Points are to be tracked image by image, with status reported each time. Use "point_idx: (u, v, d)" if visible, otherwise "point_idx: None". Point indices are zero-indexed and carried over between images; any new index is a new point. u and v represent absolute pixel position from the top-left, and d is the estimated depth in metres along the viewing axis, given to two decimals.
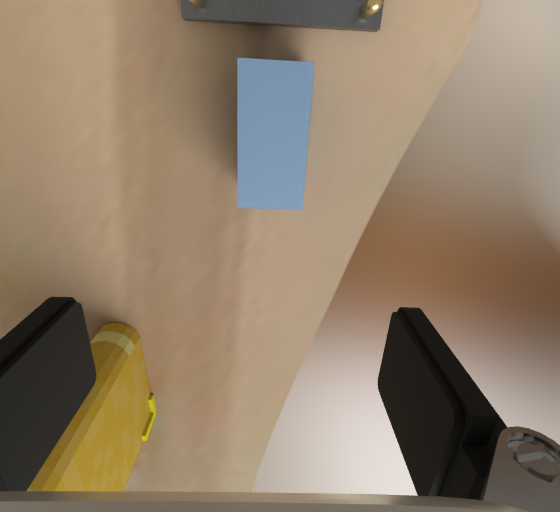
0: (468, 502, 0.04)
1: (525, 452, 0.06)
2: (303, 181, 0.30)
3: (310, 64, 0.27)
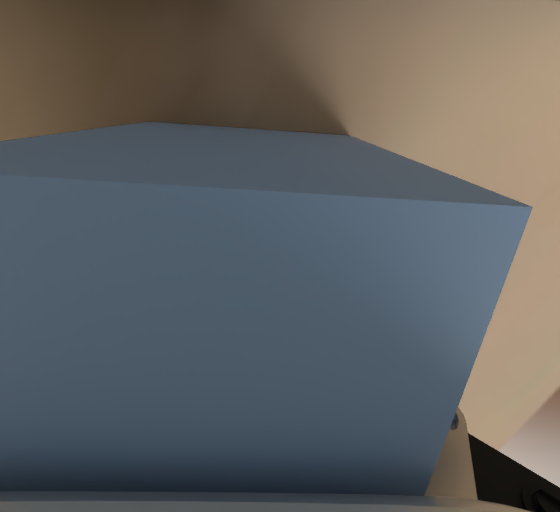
0: (468, 502, 0.04)
1: None
2: None
3: (494, 223, 0.03)
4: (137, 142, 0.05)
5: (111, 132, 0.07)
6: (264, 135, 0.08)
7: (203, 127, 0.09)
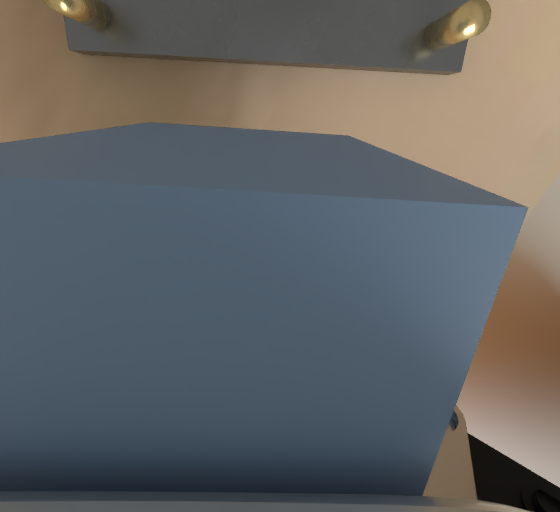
0: (468, 502, 0.04)
1: None
2: None
3: (491, 223, 0.03)
4: (137, 143, 0.05)
5: (111, 133, 0.07)
6: (264, 136, 0.08)
7: (203, 128, 0.09)
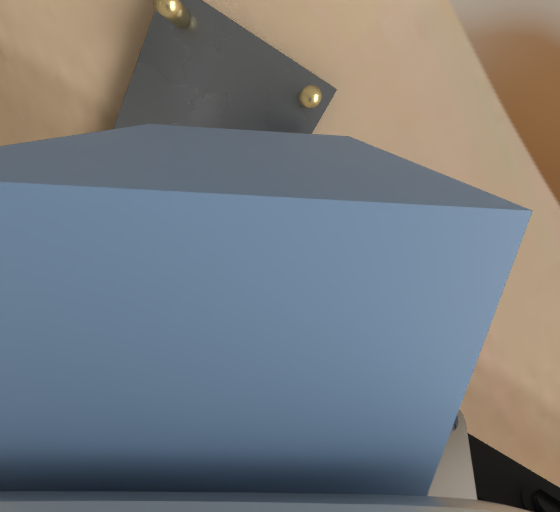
0: (468, 502, 0.04)
1: None
2: None
3: (494, 226, 0.03)
4: (137, 146, 0.05)
5: (111, 135, 0.07)
6: (264, 137, 0.08)
7: (203, 129, 0.09)
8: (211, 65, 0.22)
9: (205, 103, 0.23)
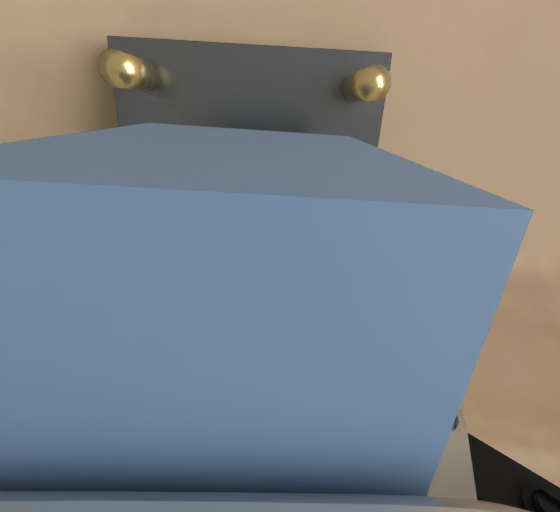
0: (468, 502, 0.04)
1: None
2: None
3: (495, 226, 0.03)
4: (136, 144, 0.05)
5: (110, 134, 0.07)
6: (264, 136, 0.08)
7: (202, 128, 0.09)
8: (211, 114, 0.15)
9: None
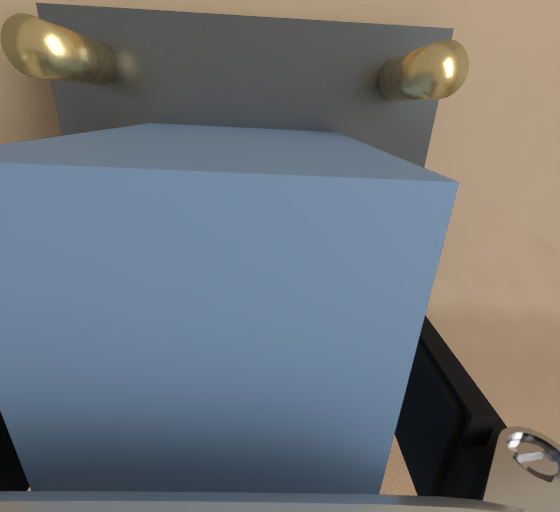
0: (468, 502, 0.04)
1: (525, 452, 0.06)
2: None
3: (429, 196, 0.04)
4: (140, 140, 0.06)
5: (117, 132, 0.07)
6: (255, 133, 0.09)
7: (200, 127, 0.10)
8: (192, 118, 0.11)
9: None
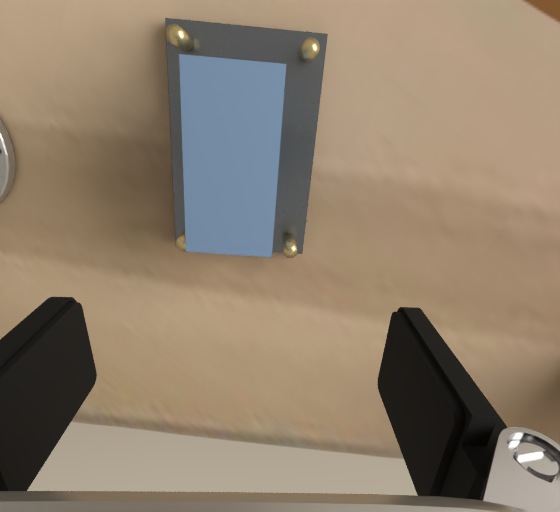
0: (468, 502, 0.04)
1: (525, 452, 0.06)
2: (272, 220, 0.23)
3: (280, 66, 0.19)
4: None
5: None
6: None
7: None
8: None
9: None
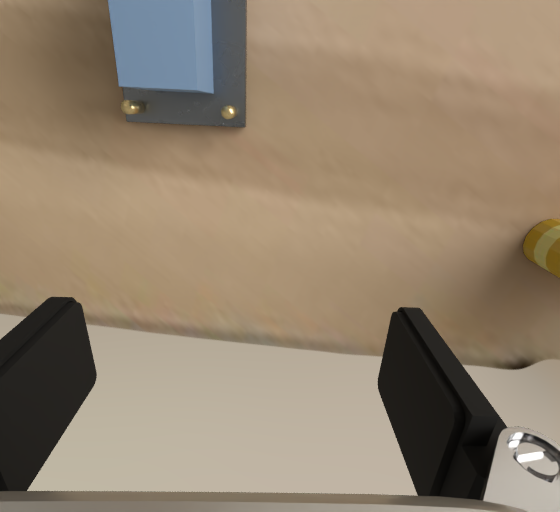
0: (468, 502, 0.04)
1: (525, 452, 0.06)
2: (194, 50, 0.25)
3: None
4: None
5: None
6: None
7: None
8: None
9: None
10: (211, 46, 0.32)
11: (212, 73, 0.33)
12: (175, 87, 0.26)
